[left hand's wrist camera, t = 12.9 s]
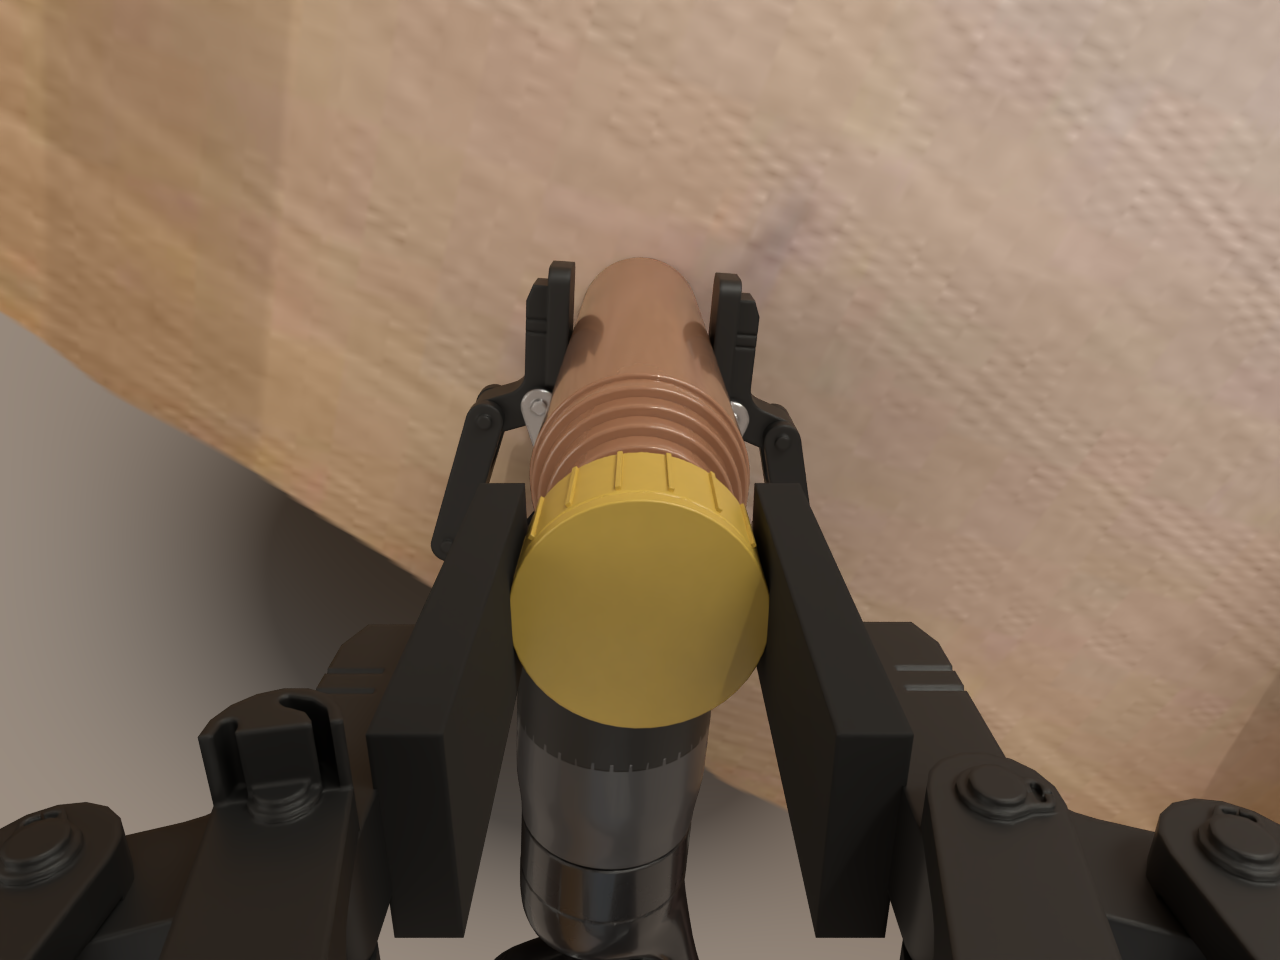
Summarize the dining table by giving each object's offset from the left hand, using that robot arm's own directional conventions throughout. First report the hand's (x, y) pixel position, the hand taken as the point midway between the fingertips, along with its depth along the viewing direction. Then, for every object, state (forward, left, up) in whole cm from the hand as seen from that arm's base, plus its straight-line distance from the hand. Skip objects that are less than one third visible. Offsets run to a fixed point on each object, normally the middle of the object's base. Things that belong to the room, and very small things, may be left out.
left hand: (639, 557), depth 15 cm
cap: (0, 0, +2) cm, 2 cm away
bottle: (0, 0, -21) cm, 21 cm away
